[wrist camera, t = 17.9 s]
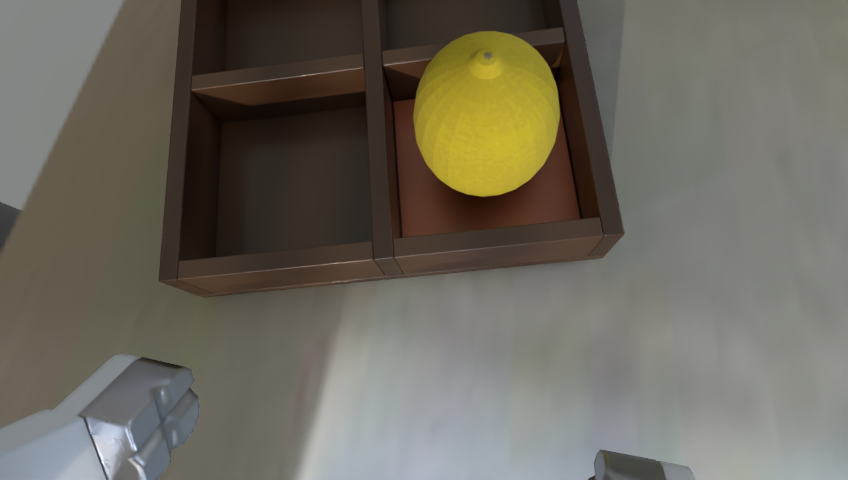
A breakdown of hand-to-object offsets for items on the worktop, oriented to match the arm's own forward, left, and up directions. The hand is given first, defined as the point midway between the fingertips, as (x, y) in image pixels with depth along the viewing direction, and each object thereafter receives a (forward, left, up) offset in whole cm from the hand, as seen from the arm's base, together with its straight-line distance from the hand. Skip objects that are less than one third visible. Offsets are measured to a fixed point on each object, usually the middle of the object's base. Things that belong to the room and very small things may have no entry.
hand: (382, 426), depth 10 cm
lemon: (+3, +10, -11) cm, 16 cm away
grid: (-1, +15, -12) cm, 19 cm away
